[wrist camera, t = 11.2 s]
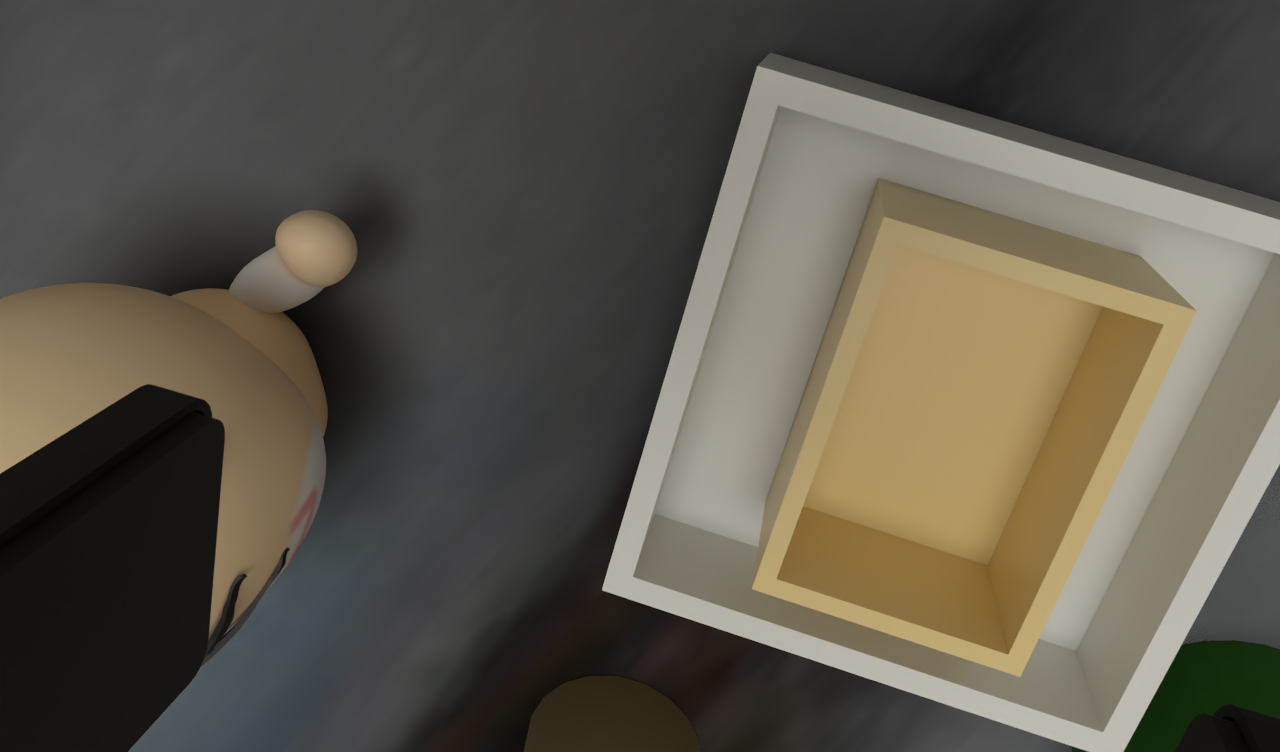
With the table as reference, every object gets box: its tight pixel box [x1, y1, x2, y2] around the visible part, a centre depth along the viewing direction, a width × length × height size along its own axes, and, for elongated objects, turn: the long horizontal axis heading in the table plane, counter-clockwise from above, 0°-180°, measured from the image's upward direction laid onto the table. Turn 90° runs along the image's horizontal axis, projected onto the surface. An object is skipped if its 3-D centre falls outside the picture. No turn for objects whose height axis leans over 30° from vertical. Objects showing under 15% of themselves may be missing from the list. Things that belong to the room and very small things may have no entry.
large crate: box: [602, 52, 1280, 752], centre depth 29 cm, size 14×14×4 cm
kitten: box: [0, 210, 357, 666], centre depth 29 cm, size 15×10×15 cm
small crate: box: [752, 178, 1196, 677], centre depth 29 cm, size 10×7×5 cm
